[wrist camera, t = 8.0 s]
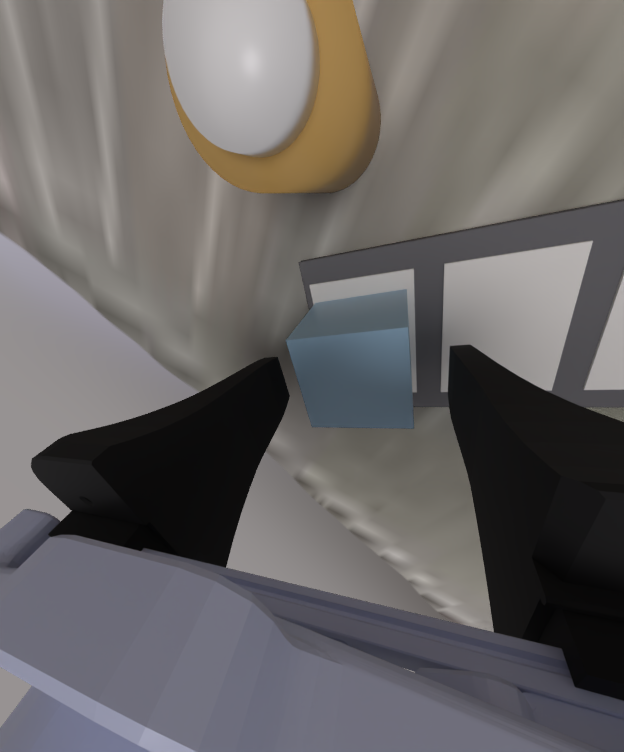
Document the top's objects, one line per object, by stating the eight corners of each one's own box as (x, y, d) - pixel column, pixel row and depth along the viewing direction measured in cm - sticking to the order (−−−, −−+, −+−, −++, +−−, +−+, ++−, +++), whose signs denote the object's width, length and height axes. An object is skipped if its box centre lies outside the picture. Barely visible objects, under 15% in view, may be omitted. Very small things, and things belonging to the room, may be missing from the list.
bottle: (384, 178, 10) (362, 161, 5) (293, 203, 11) (190, 213, 6) (375, 33, 8) (319, -283, 3) (268, 81, 9) (82, -72, 4)
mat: (721, 401, 11) (734, 410, 10) (332, 402, 16) (330, 408, 16) (890, 148, 7) (923, 145, 6) (301, 260, 12) (297, 263, 12)
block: (411, 371, 13) (413, 428, 10) (332, 375, 15) (312, 427, 11) (406, 288, 11) (408, 327, 8) (315, 302, 13) (285, 340, 9)
